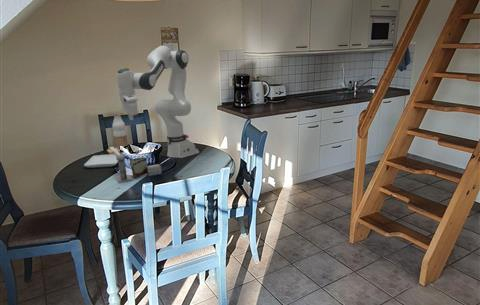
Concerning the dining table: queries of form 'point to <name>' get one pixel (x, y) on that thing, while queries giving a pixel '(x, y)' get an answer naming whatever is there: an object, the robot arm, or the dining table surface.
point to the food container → (138, 167)
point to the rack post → (123, 173)
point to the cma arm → (116, 153)
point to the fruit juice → (119, 131)
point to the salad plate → (101, 161)
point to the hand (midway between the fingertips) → (131, 119)
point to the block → (153, 170)
